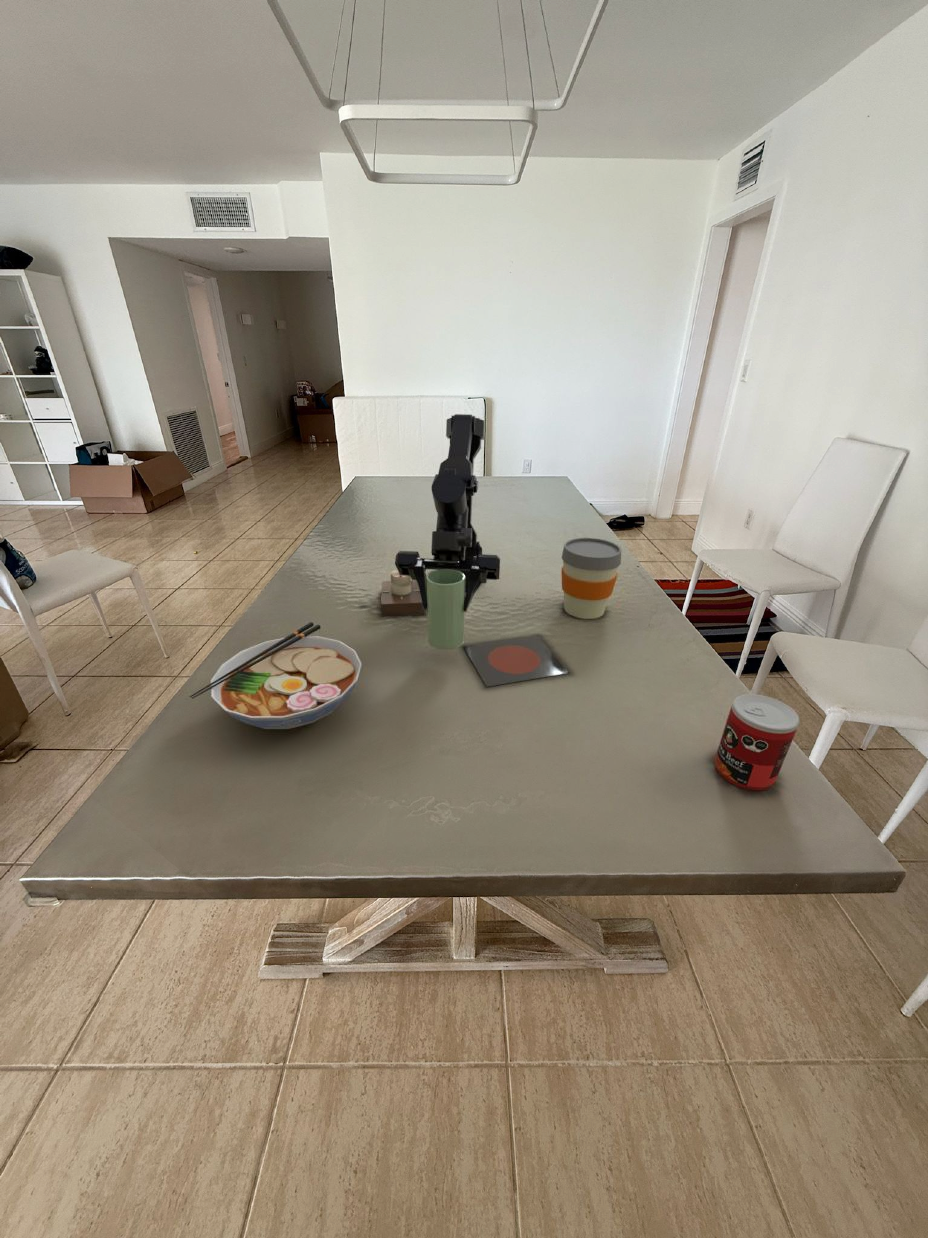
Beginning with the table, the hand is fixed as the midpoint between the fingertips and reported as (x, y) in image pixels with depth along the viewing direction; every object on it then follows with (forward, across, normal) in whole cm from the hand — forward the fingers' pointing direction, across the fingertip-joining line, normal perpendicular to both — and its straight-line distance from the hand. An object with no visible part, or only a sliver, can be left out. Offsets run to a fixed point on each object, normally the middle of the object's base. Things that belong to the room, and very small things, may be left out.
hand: (444, 610), depth 92 cm
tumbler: (+4, 0, +6) cm, 7 cm away
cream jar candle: (-11, -13, +23) cm, 29 cm away
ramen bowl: (+20, -23, -3) cm, 30 cm away
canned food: (+25, +46, -8) cm, 53 cm away
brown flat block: (-9, -13, +25) cm, 30 cm away
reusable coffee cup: (-10, +29, +26) cm, 40 cm away
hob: (+6, +13, +10) cm, 18 cm away
